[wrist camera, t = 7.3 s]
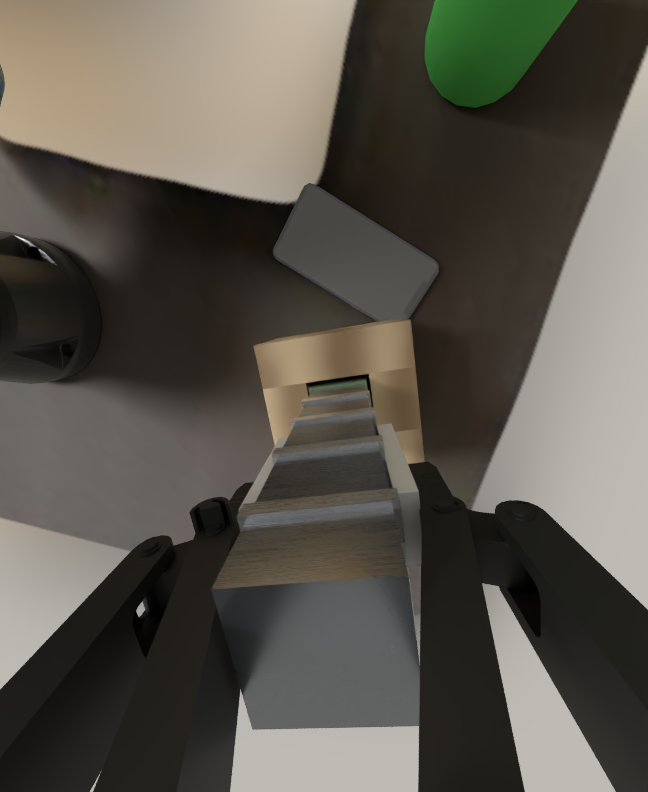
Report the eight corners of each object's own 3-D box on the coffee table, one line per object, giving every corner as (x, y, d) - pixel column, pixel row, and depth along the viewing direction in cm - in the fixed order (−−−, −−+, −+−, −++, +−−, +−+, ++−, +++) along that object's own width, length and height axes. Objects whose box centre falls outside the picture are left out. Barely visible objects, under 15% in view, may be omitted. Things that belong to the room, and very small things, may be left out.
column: (322, 425, 29) (246, 735, 7) (314, 378, 28) (199, 582, 6) (370, 419, 28) (436, 732, 7) (363, 371, 27) (418, 565, 6)
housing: (299, 443, 36) (279, 494, 26) (278, 338, 33) (247, 347, 23) (406, 430, 34) (430, 478, 24) (393, 319, 32) (415, 319, 21)
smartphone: (307, 178, 29) (444, 264, 30) (308, 182, 30) (441, 266, 31) (269, 255, 31) (398, 335, 31) (271, 257, 32) (397, 334, 32)
